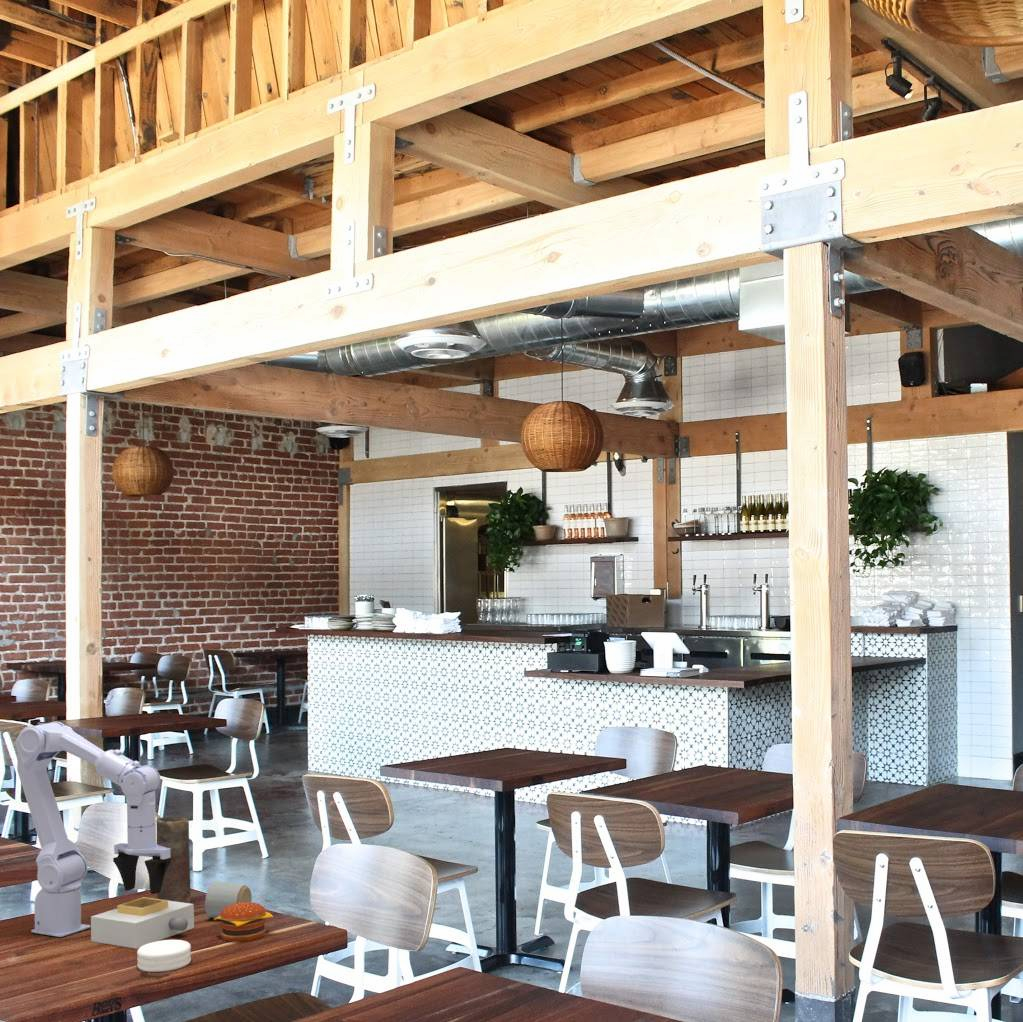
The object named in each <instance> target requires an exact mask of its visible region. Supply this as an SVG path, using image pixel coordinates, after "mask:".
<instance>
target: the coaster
mask: <svg viewBox="0 0 1023 1022" xmlns="http://www.w3.org/2000/svg"><path fill="white" fill-rule="evenodd" d="M191 949H192V946H191V943H189V942H188V941H187V940H182V939H162V940H159V941H156V942H152V943H148V944H145V945H143V946H141V947H139V948H137V951H136V954H137V958H136V961H137V964H136V966H137V968H138V969H139V970H140V971H143V972H148V973H149V972H152V973H159V972H169V971H174V970H177V969H181V968H184V967H186V966H188V965H189V964H190V963H191V961H192V957H191V956H192V950H191Z"/></svg>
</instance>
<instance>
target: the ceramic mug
mask: <svg viewBox="0 0 1023 1022" xmlns="http://www.w3.org/2000/svg"><path fill="white" fill-rule="evenodd" d="M252 897H253V896H252V891H251V889H250V887H249V886H248V885H245V884H243V883H236V882H235V883H233V882H228V881H227V882H226V881H218V880H216V881H212V882H211V883H210V884H209V886H208V888H207V891H206V894H205V898H204V899H205V901H204V909H205V914H206V916H207V917H208V918H210V919H214V918H217V917H219V916H220V914H221V911H222V910H223V909H224V908H226V907H228V906H230V905H232V904H235V903H240V902H252Z"/></svg>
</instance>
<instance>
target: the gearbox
mask: <svg viewBox="0 0 1023 1022" xmlns="http://www.w3.org/2000/svg"><path fill="white" fill-rule="evenodd" d="M194 905H195V904H194V903H190V902H189V903H183V902H175V901H168V900H161V899H157V898H153V897H146V896H145V897H144V896H142V897H139V898H136V899H133V900H131V901H127V902H124V903H120V904H118V905H117V906H116V907H117V908H114V909H111V910H107V911H104V912H101V913H97V914H95V915H91V916H90V932H91V933H90V939H91V940H90V941H91V942H93V943H99V944H105V945H112V946H117V947H124V948H129V949H130V948H131V949H137V950H138V949H139V948H140V947H141V946H143V945H145V944H148V943H152V942H156V941H162V940H166V939H167V938H170V937H172V936H175V935H178V934H182V933H185V932H187V931H190V930H193V929H194V928H195V906H194Z"/></svg>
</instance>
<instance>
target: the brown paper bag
mask: <svg viewBox="0 0 1023 1022" xmlns="http://www.w3.org/2000/svg"><path fill="white" fill-rule="evenodd" d="M189 822H190V821H189V819H188V818H185V817H172V816H162V817H158V818H157V817H156V845H159V846H162V847H166V848H170V857H171V862H170V864H169V866H168V868H167V870H166V872H165V875H164V879H163V882H162V887H161V891H160V892H159V893H156V899H161V900H168V901H175V902H183V903H190V902H191V898H192V896H191V866H190V863H191V861H190V857H191V856H190V824H189Z"/></svg>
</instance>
